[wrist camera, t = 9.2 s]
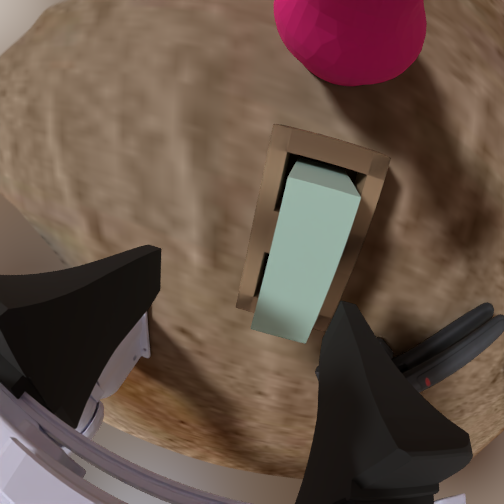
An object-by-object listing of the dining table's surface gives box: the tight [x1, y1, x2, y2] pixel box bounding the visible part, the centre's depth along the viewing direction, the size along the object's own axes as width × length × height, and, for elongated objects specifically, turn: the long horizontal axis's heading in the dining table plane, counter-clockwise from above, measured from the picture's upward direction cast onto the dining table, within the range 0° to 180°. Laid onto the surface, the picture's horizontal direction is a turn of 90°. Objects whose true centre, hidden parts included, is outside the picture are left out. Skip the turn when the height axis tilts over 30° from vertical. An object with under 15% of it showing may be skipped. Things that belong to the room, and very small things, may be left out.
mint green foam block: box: [251, 158, 361, 344], centre depth 15 cm, size 8×3×7 cm, turn 169°
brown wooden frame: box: [236, 124, 391, 332], centre depth 17 cm, size 12×6×3 cm, turn 169°
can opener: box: [315, 303, 504, 392], centre depth 19 cm, size 18×7×6 cm, turn 123°
